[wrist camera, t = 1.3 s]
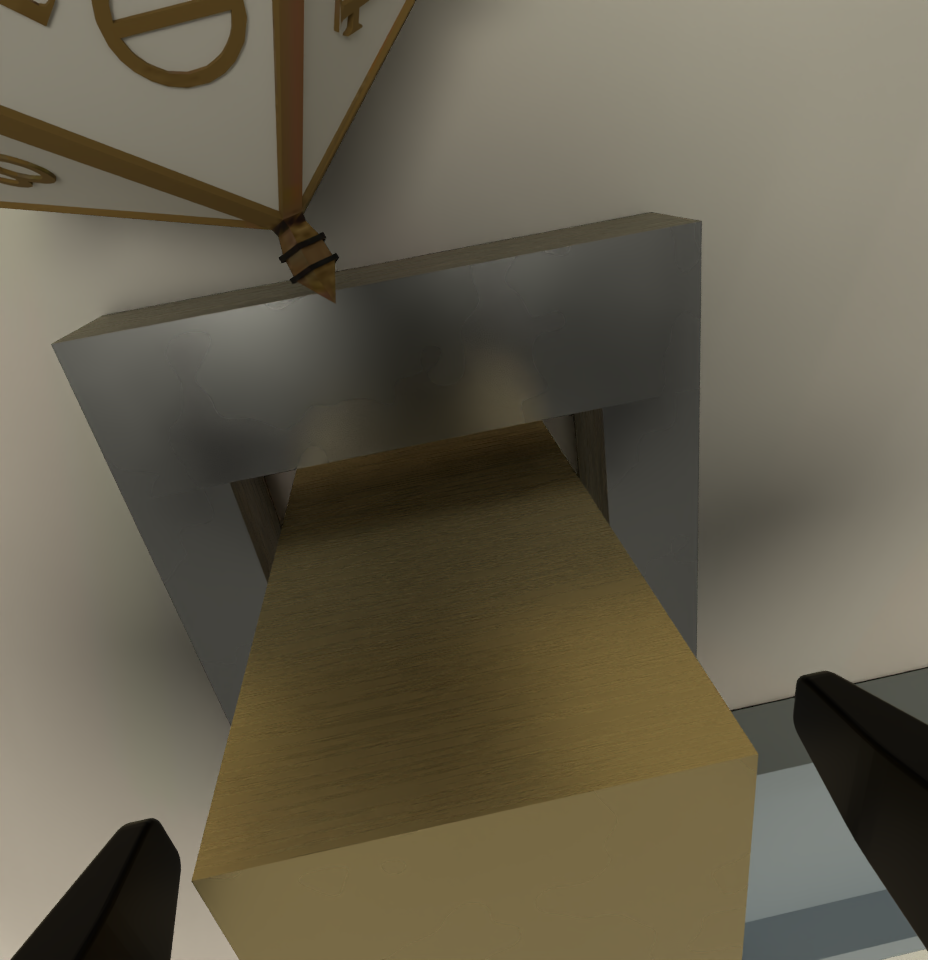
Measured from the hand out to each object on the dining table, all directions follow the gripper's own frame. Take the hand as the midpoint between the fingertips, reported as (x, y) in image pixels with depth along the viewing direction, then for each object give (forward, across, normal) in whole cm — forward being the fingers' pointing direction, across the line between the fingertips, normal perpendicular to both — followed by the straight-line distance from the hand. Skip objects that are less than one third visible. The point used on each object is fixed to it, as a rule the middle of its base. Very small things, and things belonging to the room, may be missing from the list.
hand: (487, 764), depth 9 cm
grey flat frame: (+6, 0, +5) cm, 8 cm away
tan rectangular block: (+6, 0, 0) cm, 6 cm away
